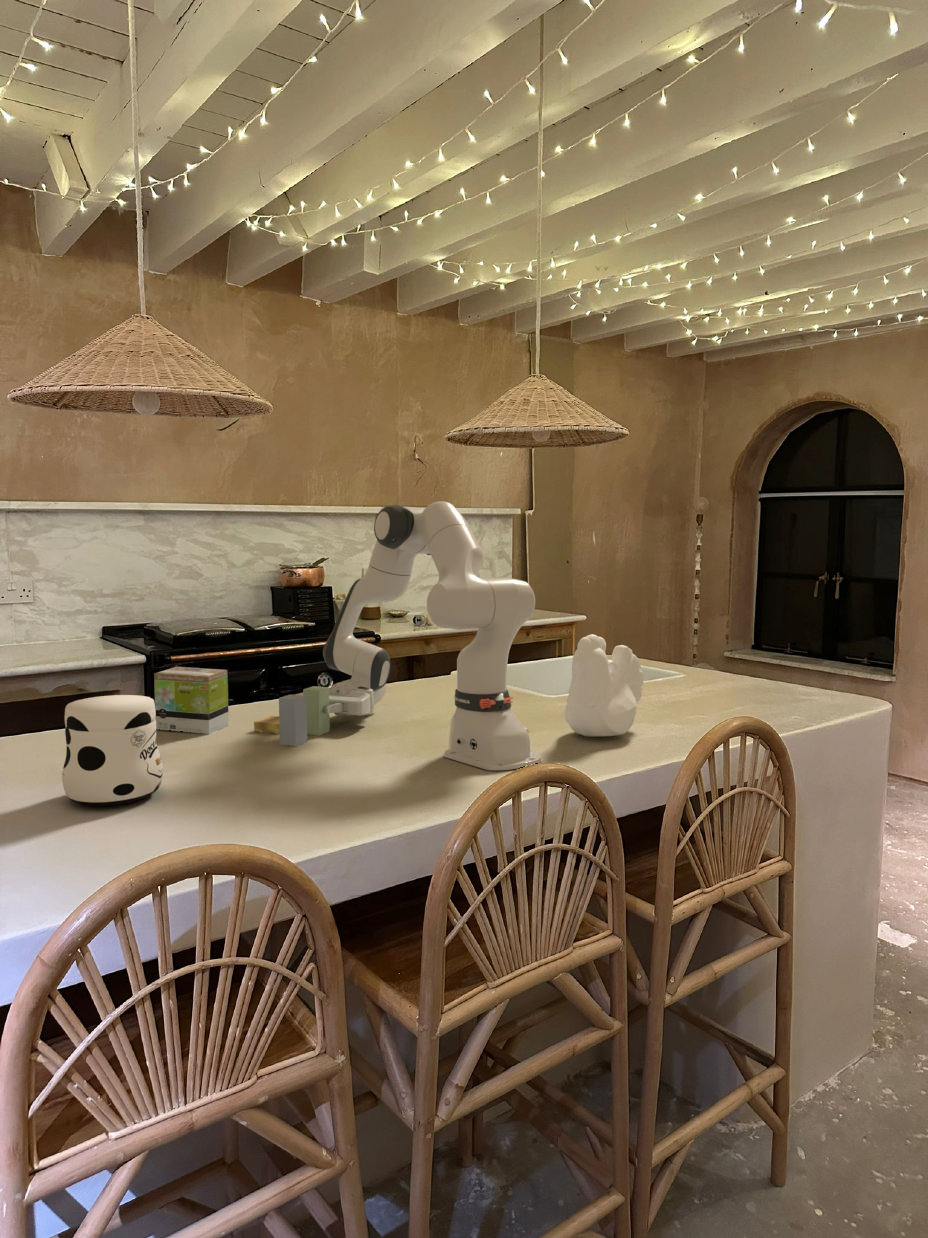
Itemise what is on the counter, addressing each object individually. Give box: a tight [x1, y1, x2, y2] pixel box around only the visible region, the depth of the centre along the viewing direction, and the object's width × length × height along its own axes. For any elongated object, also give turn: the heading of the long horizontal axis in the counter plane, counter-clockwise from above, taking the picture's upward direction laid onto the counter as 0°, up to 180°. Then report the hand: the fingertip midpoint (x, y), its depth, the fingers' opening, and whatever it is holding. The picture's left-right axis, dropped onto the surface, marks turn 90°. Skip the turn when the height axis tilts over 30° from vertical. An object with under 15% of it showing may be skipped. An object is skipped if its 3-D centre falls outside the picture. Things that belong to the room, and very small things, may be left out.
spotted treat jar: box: [61, 694, 164, 807], centre depth 159 cm, size 17×17×18 cm
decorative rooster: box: [563, 633, 644, 737], centre depth 208 cm, size 25×16×25 cm, turn 120°
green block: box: [302, 685, 331, 737], centre depth 209 cm, size 4×4×11 cm
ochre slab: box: [253, 715, 280, 735], centre depth 213 cm, size 7×7×2 cm
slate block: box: [278, 693, 308, 747], centre depth 199 cm, size 4×4×11 cm
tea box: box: [153, 666, 229, 735], centre depth 213 cm, size 15×10×15 cm, turn 76°
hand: (314, 709), depth 209 cm, fingers open, 5 cm apart
